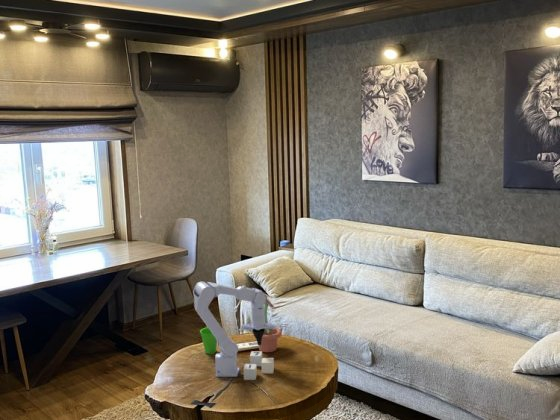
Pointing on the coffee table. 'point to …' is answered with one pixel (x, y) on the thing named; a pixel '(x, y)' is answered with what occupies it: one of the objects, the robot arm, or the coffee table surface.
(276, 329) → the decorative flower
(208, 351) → the cup
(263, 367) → the cream block
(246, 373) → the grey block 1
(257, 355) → the white marked cube 7
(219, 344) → the robot arm
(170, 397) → the coffee table surface
